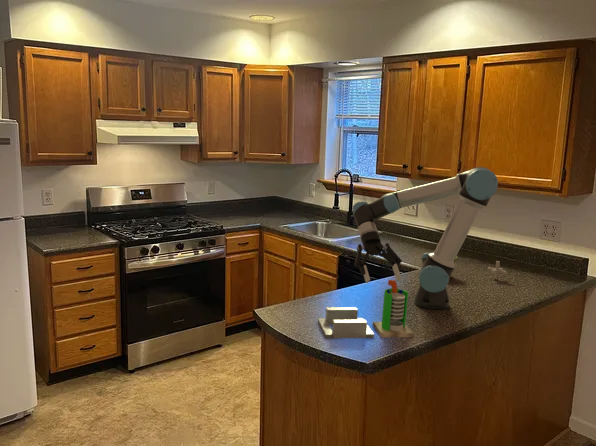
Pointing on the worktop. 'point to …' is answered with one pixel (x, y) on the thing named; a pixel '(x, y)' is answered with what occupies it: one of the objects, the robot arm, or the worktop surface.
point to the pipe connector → (497, 270)
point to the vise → (344, 324)
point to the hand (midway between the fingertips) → (383, 280)
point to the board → (384, 333)
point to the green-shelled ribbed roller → (394, 308)
